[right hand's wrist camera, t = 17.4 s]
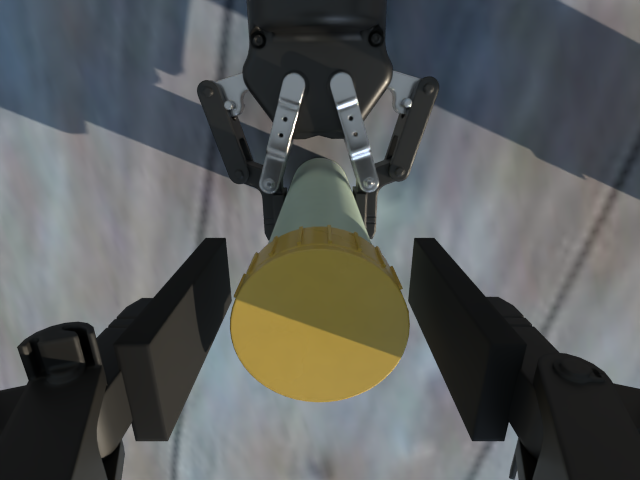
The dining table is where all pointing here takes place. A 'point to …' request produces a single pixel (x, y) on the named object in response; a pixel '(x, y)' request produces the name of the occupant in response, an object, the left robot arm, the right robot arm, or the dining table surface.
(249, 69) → the left robot arm
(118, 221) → the dining table surface
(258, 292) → the lid
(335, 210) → the pale green tube
